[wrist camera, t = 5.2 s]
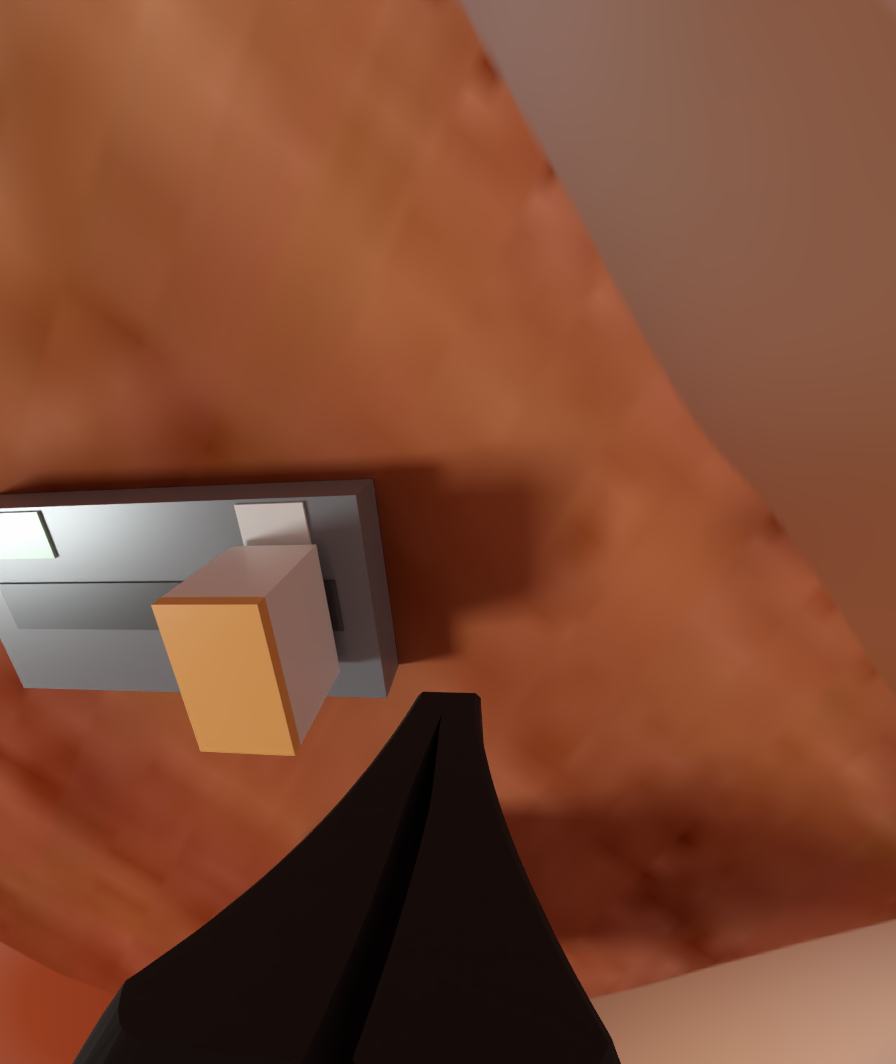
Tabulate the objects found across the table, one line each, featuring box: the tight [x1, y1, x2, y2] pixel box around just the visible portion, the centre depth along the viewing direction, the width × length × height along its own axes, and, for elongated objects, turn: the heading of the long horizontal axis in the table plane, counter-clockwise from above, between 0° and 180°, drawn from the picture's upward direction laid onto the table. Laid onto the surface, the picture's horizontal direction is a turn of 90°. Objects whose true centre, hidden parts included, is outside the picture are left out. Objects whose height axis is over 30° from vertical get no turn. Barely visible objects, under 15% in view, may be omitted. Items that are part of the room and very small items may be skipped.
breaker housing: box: [0, 479, 398, 698], centre depth 19 cm, size 16×8×2 cm, turn 95°
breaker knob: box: [151, 544, 340, 756], centre depth 15 cm, size 3×5×4 cm, turn 5°
